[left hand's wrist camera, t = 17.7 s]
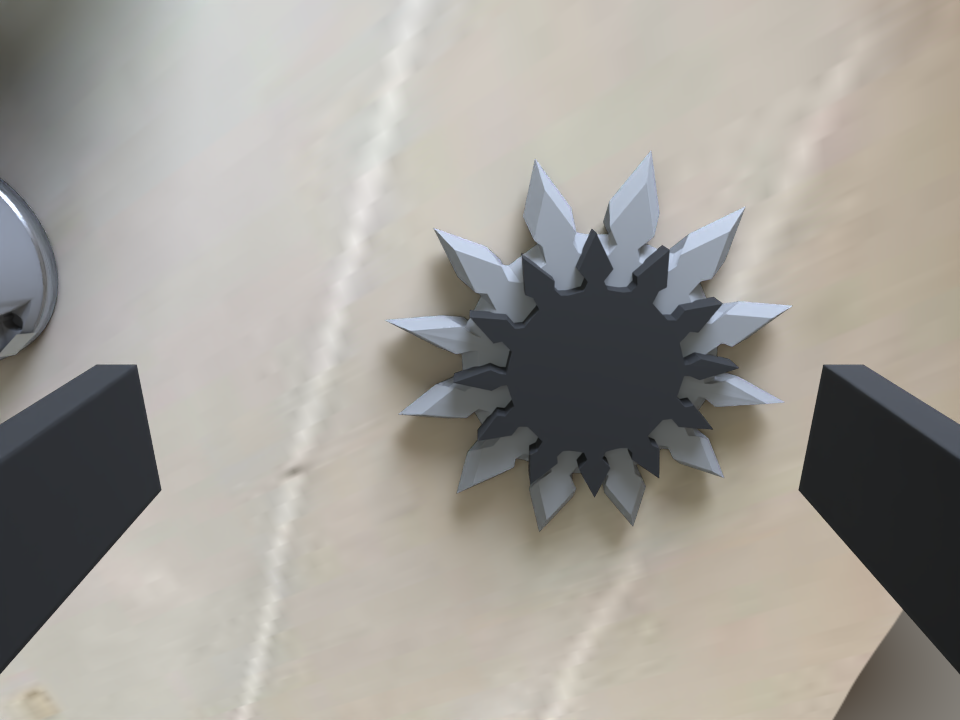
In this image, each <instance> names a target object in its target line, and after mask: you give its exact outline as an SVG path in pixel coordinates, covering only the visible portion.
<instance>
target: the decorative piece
mask: <svg viewBox="0 0 960 720" xmlns="http://www.w3.org/2000/svg"><path fill="white" fill-rule="evenodd" d="M745 207H746V206H745ZM745 207H743V208H741V209H739V210H737V211H735V212H733V213H731V214H729V215H727V216H725V217H723V218H721V219H719V220H717V221H715V222H713V223H710V224H708V225H706V226H704V227H702V228H700V229H698V230H696V231H694V232H692V233H690V234H688V235H687V236H686V237H685V238H683V239H682V240H681V241H679V242H678V243H677V244H676V245H674V246H673V247H672V248H671V249H670V250H669V249H667V248H666V247H664V246H663V245H662V246H661V247H659V248H658V249H656V248H654V247H652V246H650V245H648V244H646V243H647V242H648V241H649V240H650V239H652V238H653V237H654V235H655V230H656V226H657V221H658V217H659V205H658V198H657V190H656V183H655V175H654V168H653V160H652V152H651V151H650V152H649V153H648V155H647V156H646V157H645V158H644V160H643V161H642V162H641V163H640V165H639V166H638V167H637V168H636V169H635V171H634V172H633V173H632V174H631V176H630V177H629V178H628V179H627V180H626V182H625V183H624V184H623V185H622V187H621V188H620V189H619V190H618V192H617V193H616V194H615V195H614V196H613V198H612V199H611V200H610V201H609V205H608V208H607V211H606V215H605V218H604V221H603V222H604V225H605V227H606V230H607V232H608V234H597V233H596V232H595V231H594V230H593V229H591V231H590V233H589V234H581V233H578V232H576V229H575V224H574V219H573V214H572V210H571V207H570V205H569V204H568V203H567V201H566V200H565V199H564V197H563V196H562V195H561V193H560V192H559V190H558V189H557V188H556V186H555V185H554V184H553V182H552V181H551V180H550V178H549V177H548V175H547V174H546V173H545V171H544V170H543V169H542V167H541V166H540V164H539V163H538V162H537V160H536V159H535V161H534V166H533V171H532V176H531V181H530V185H529V190H528V195H527V200H526V205H525V210H524V214H523V217H524V220H525V222H526V224H527V226H528V228H529V231H530V233H531V235H532V237H533V239H534V240H535V241H536V242H537V245H535V246H534V247H533V248H531V249H530V250H529V251H527V252H526V253H525V254H522V253H521V257H519V258H518V259H517V260H515V261H514V262H513V263H511V264H510V265H509V266H508V265H503V264H502V262H501V260H500V259H499V258H498V257H497V256H496V255H495V254H494V253H493V252H492V251H490V250H489V249H488V248H487V247H486V246H483V245H480V244H477V243H475V242H472V241H469V240H466V239H463V238H461V237H458V236H455V235H452V234H449V233H447V232H444V231H441V230H438V229H435V228H434V230H435V232H436V234H437V236H438V238H439V240H440V242H441V244H442V246H443V248H444V250H445V252H446V254H447V256H448V258H449V260H450V262H451V264H452V266H453V268H454V270H455V272H456V274H457V276H458V278H459V279H461V280H462V281H463V282H464V283H465V284H466V285H467V286H469V287H470V288H471V289H472V290H473V291H474V292H475V293H479V294H480V296H481V298H480V299H479V301H478V303H477V305H476V307H475V309H474V310H470V318H469V320H467V319H465V318H464V317H456V316H444V315H442V316H429V317H417V318H404V319H391V320H385V321H387V322H389V323H391V324H393V325H395V326H397V327H399V328H401V329H403V330H405V331H407V332H409V333H411V334H413V335H415V336H417V337H419V338H421V339H423V340H425V341H427V342H429V343H431V344H433V345H435V346H437V347H439V348H442V349H444V350H447V351H449V352H452V353H455V354H460V353H462V367H463V371H460V372H457V373H454V377H452V378H449V379H447V380H445V381H443V382H440V383H438V384H436V385H434V386H433V387H432V388H431V389H429V390H428V391H427V392H426V393H424V394H423V395H422V396H420V397H419V398H418V399H417V400H415V401H414V402H413V403H412V404H410V405H409V406H408V407H407V408H405V409H404V410H403V411H402V412H400V413H399V415H413V416H426V417H439V418H467V417H468V416H470V415H471V414H472V413H474V412H475V414H476V415H477V417H478V419H479V420H480V422H481V424H482V425H481V426H480V427H479V429H478V440H477V441H476V443H475V444H474V445H473V446H472V447H471V449H470V450H469V451H468V452H467V456H466V460H465V464H464V467H463V471H462V475H461V479H460V482H459V486H458V490H457V493H459V492H461V491H463V490H466V489H468V488H470V487H472V486H475V485H477V484H479V483H481V482H484V481H486V480H488V479H490V478H493V477H495V476H497V475H499V474H502V473H504V472H505V471H507V470H509V469H511V468H513V467H514V464H515V459H516V458H517V459H523V460H526V461H529V478H530V488H529V491H530V495H531V499H532V503H533V508H534V512H535V516H536V520H537V524H538V529H539V532H540V531H541V530H542V529H543V528H544V526H545V525H546V524H547V523H548V522H549V521H550V520H551V519H552V518H553V517H554V516H555V515H556V514H557V513H558V512H559V511H560V509H561V508H562V507H563V506H564V505H565V504H566V503H567V502H568V501H569V500H570V499H571V498H572V496H573V494H574V492H575V490H576V487H575V485H574V483H573V481H572V473H581V474H582V476H583V478H584V479H585V481H586V483H587V485H588V487H589V488H590V490H591V492H592V494H593V496H594V497H595V496H596V494H597V492H598V490H599V488H600V486H601V485H602V483H603V487H604V493H605V494H606V495H607V496H608V497H609V499H610V500H611V501H612V502H613V503H614V505H615V506H616V507H617V508H618V509H619V511H620V512H621V513H622V514H623V515H624V516H625V518H626V519H627V520H628V521H629V522H630V524H631V525H632V526H633V525H634V522H635V519H636V516H637V512H638V509H639V506H640V503H641V500H642V497H643V494H644V490H645V487H646V486H645V484H644V481H643V479H642V477H641V475H640V473H639V470H638V468H637V466H636V465H637V464H639V465H640V466H642V467H643V468H645V469H646V470H648V471H649V472H651V473H652V474H654V475H655V476H656V477H658V478H659V453H660V449H662V448H663V449H669V450H670V453H671V455H672V457H673V459H675V460H676V461H677V462H679V463H680V464H683V465H686V466H689V467H692V468H695V469H699V470H702V471H705V472H708V473H711V474H714V475H717V476H720V477H723V478H724V476H723V473H722V471H721V468H720V466H719V463H718V461H717V458H716V456H715V453H714V451H713V448H712V446H711V443H710V441H709V439H708V438H707V437H706V436H705V435H703V434H702V433H701V432H700V431H699V430H697V429H696V428H699V429H712V427H711V426H710V425H709V423H708V422H707V421H706V419H705V418H704V417H703V416H702V414H701V413H700V412H699V411H698V410H699V408H700V407H701V405H702V404H703V403H704V401H705V400H708V401H709V402H710V403H711V404H712V405H714V406H715V407H721V406H737V405H753V404H769V403H782V402H783V401H782V400H780V399H778V398H776V397H774V396H773V395H771V394H769V393H767V392H765V391H764V390H762V389H760V388H758V387H756V386H755V385H753V384H751V383H749V382H748V381H746V380H744V379H742V378H740V377H738V376H735V375H732V374H728V373H725V372H728V371H731V370H734V369H738V368H739V367H737V366H736V365H735V364H734V363H733V362H732V361H731V360H730V359H727V358H723V357H718V356H717V346H719V345H720V344H722V343H723V344H726V345H729V346H731V347H733V346H734V345H736V344H738V343H740V342H741V341H743V340H745V339H747V338H748V337H750V336H751V335H752V334H754V333H755V332H757V331H758V330H759V329H761V328H762V327H764V326H765V325H766V324H768V323H769V322H771V321H772V320H773V319H775V318H776V317H778V316H779V315H780V314H782V313H783V312H785V311H786V310H787V309H789V308H790V307H792V306H789V305H777V304H765V303H752V302H740V301H739V302H732V303H725V304H723V303H721V302H720V301H719V300H717V299H716V298H714V297H711V298H706V296H705V294H704V291H703V289H702V287H701V284H700V282H701V281H704V280H709V279H712V278H713V277H714V275H715V274H716V272H717V271H718V270H719V268H720V267H721V266H722V264H723V263H724V261H725V259H726V257H727V254H728V251H729V249H730V246H731V243H732V241H733V238H734V236H735V233H736V230H737V228H738V225H739V222H740V220H741V217H742V215H743V212H744V209H745ZM457 493H456V494H457Z"/></svg>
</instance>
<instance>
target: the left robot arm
mask: <svg viewBox="0 0 960 720" xmlns="http://www.w3.org/2000/svg"><path fill="white" fill-rule="evenodd" d="M57 290H58V276H57V268H56V262H55V258H54V254H53V251H52V248H51V245H50V242H49V240H48V238H47V235H46V233H45V231H44V229H43V227H42V226H41V224H40V222H39V220H38V219H37V217H36V216H35V214H34V213H33V211H32V210H31V209H30V207H29V206H28V205H27V204H26V202H25V201H24V200H23V199H22V198H21V197H20V196H19V195H18V193H17V192H16V191H15V190H13V189H12V188H11V187H10V186H9V185H8V184H7V183H6V182H5V181H3V180H2V179H1V178H0V360H2V359H4V358H6V357H8V356H12V355H16V354H17V353H18V352H19V351H20V350H22V349H23V348H25V347H27V346H28V345H29V344H30V343H32V342H33V341H34V340H35V339H36V338H37V337H38V336H39V335H40V334H41V332H42V331H43V330H44V329H45V327H46V325H47V324H48V322H49V320H50V318H51V316H52V313H53V310H54V307H55V304H56V298H57ZM160 491H161V485H160V480H159V475H158V470H157V465H156V460H155V455H154V450H153V445H152V440H151V435H150V430H149V425H148V420H147V415H146V409H145V404H144V399H143V394H142V389H141V384H140V379H139V374H138V369H137V365H95V366H94V367H92V368H91V369H89V370H87V371H86V372H84V373H82V374H81V375H79V376H78V377H76V378H74V379H73V380H71V381H70V382H68V383H66V384H65V385H63V386H62V387H60V388H58V389H57V390H55V391H54V392H52V393H50V394H49V395H47V396H45V397H44V398H42V399H41V400H39V401H37V402H36V403H34V404H33V405H31V406H29V407H28V408H26V409H25V410H23V411H21V412H20V413H18V414H17V415H15V416H13V417H12V418H10V419H8V420H7V421H5V422H4V423H2V424H0V674H1V673H2V671H3V670H4V669H5V668H6V667H7V666H8V665H9V664H10V662H11V661H12V660H13V659H14V658H15V657H16V656H17V654H18V653H19V652H20V651H21V650H22V649H23V648H24V646H25V645H26V644H27V643H28V642H29V641H30V640H31V638H32V637H33V636H34V635H35V634H36V633H37V632H38V630H39V629H40V628H41V627H42V626H43V625H44V624H45V622H46V621H47V620H48V619H49V618H50V617H51V616H52V614H53V613H54V612H55V611H56V610H57V609H58V608H59V606H60V605H61V604H62V603H63V602H64V601H65V600H66V598H67V597H68V596H69V595H70V594H71V593H72V592H73V590H74V589H75V588H76V587H77V586H78V585H79V584H80V582H81V581H82V580H83V579H84V578H85V577H86V576H87V574H88V573H89V572H90V571H91V570H92V569H93V568H94V566H95V565H96V564H97V563H98V562H99V561H100V560H101V558H102V557H103V556H104V555H105V554H106V553H107V552H108V550H109V549H110V548H111V547H112V546H113V545H114V544H115V542H116V541H117V540H118V539H119V538H120V537H121V536H122V534H123V533H124V532H125V531H126V530H127V529H128V528H129V527H130V525H131V524H132V523H133V522H134V521H135V520H136V519H137V517H138V516H139V515H140V514H141V513H142V512H143V511H144V509H145V508H146V507H147V506H148V505H149V504H150V503H151V501H152V500H153V499H154V498H155V497H156V496H157V495H158V493H159V492H160ZM799 491H800V492H801V493H802V495H803V496H804V497H805V498H806V499H807V500H808V501H809V503H810V504H811V505H812V506H813V507H814V508H815V509H816V511H817V512H818V513H819V514H820V515H821V516H822V517H823V519H824V520H825V521H826V522H827V523H828V524H829V525H830V527H831V528H832V529H833V530H834V531H835V532H836V533H837V534H838V536H839V537H840V538H841V539H842V540H843V541H844V542H845V544H846V545H847V546H848V547H849V548H850V549H851V550H852V552H853V553H854V554H855V555H856V556H857V557H858V558H859V560H860V561H861V562H862V563H863V564H864V565H865V566H866V568H867V569H868V570H869V571H870V572H871V573H872V574H873V576H874V577H875V578H876V579H877V580H878V581H879V582H880V584H881V585H882V586H883V587H884V588H885V589H886V590H887V592H888V593H889V594H890V595H891V596H892V597H893V598H894V600H895V601H896V602H897V603H898V604H899V605H900V606H901V608H902V609H903V610H904V611H905V612H906V613H907V614H908V616H909V617H910V618H911V619H912V620H913V621H914V622H915V623H916V625H917V626H918V627H919V628H920V629H921V630H922V632H923V633H924V634H925V635H926V636H927V637H928V638H929V640H930V641H931V642H932V643H933V644H934V645H935V646H936V648H937V649H938V650H939V651H940V652H941V653H942V654H943V656H944V657H945V658H946V659H947V660H948V661H949V662H950V663H951V665H952V666H953V667H954V668H955V669H956V670H957V671H958V673H959V674H960V424H958V423H956V422H955V421H953V420H952V419H950V418H948V417H947V416H945V415H943V414H942V413H940V412H939V411H937V410H935V409H934V408H932V407H931V406H929V405H927V404H926V403H924V402H923V401H921V400H919V399H918V398H916V397H915V396H913V395H911V394H910V393H908V392H906V391H905V390H903V389H902V388H900V387H898V386H897V385H895V384H894V383H892V382H890V381H889V380H887V379H886V378H884V377H882V376H881V375H879V374H878V373H876V372H874V371H873V370H871V369H869V368H868V367H866V366H865V365H823V369H822V374H821V379H820V384H819V389H818V394H817V399H816V404H815V409H814V415H813V420H812V425H811V430H810V435H809V440H808V445H807V450H806V455H805V460H804V465H803V470H802V475H801V480H800V485H799Z"/></svg>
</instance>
